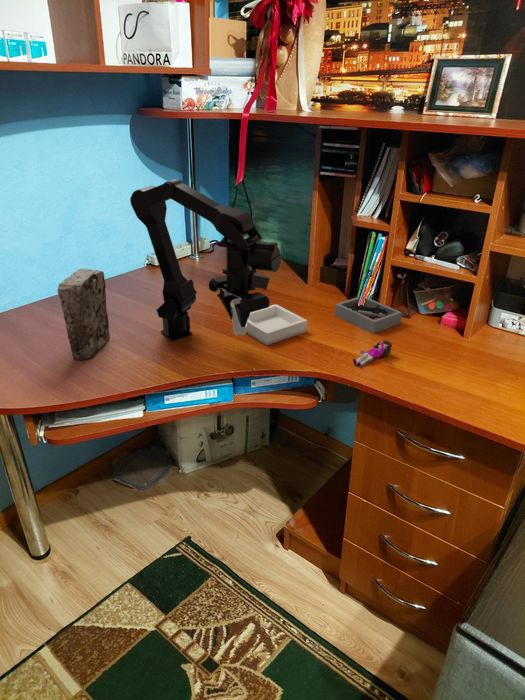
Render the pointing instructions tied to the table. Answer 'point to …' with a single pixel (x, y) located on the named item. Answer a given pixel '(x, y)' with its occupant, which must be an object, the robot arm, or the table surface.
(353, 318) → the gray open box
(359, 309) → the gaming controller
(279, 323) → the tray
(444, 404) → the table surface
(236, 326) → the milkshake
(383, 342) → the character figurine
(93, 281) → the stone block
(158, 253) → the robot arm
